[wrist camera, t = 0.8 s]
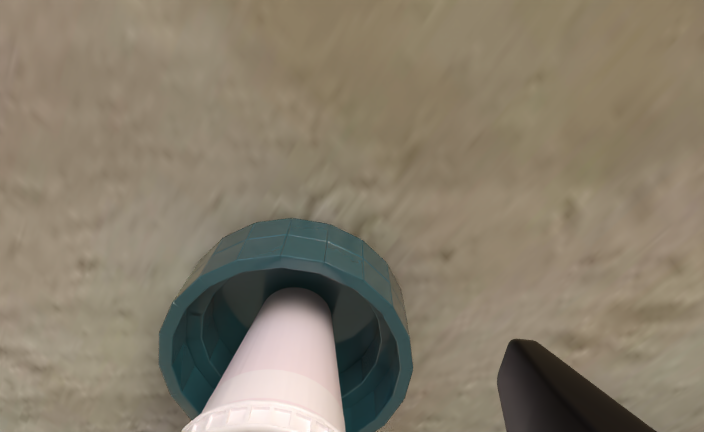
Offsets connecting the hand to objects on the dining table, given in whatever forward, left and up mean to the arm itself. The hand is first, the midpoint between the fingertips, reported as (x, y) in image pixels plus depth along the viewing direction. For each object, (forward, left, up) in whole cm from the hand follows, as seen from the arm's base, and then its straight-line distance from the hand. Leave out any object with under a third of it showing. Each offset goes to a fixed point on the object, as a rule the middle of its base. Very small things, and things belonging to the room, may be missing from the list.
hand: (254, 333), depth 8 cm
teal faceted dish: (-3, +9, -13) cm, 16 cm away
